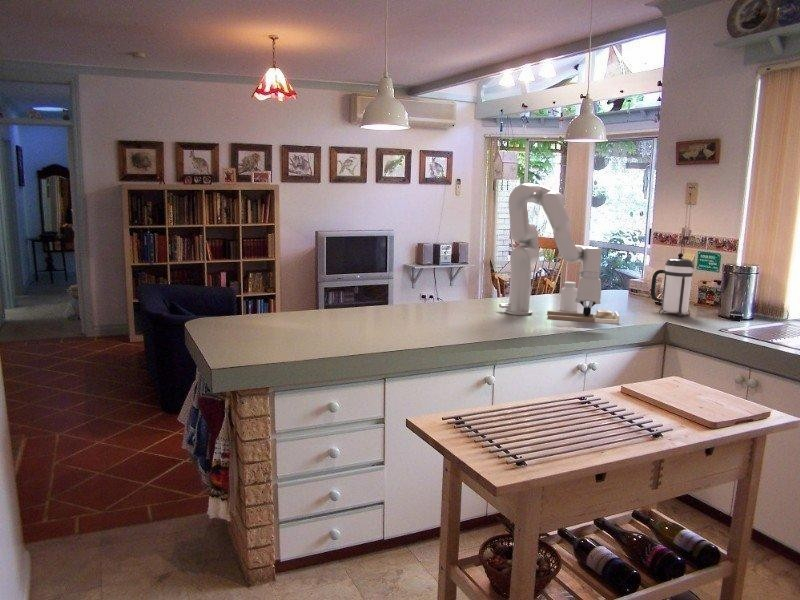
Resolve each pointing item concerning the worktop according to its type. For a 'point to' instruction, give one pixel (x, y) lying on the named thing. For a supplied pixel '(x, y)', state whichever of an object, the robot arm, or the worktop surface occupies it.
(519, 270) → the robot arm
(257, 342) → the worktop surface
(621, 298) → the worktop surface
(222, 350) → the worktop surface
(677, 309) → the coffee press
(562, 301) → the pill bottle
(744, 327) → the worktop surface
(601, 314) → the block
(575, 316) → the lane
